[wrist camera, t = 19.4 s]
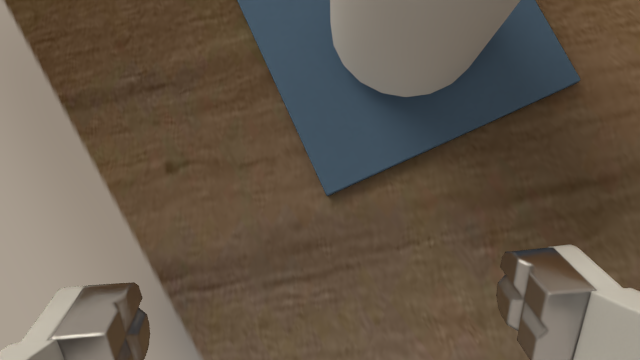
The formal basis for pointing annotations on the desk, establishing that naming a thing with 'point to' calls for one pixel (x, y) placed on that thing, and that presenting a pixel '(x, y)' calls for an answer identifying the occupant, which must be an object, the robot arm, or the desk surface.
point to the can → (413, 40)
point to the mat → (390, 110)
